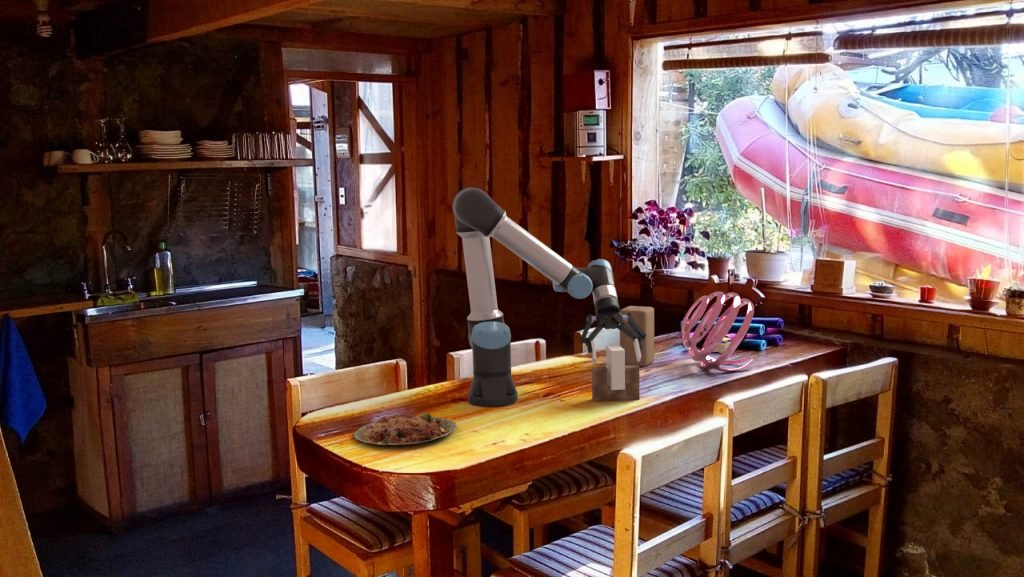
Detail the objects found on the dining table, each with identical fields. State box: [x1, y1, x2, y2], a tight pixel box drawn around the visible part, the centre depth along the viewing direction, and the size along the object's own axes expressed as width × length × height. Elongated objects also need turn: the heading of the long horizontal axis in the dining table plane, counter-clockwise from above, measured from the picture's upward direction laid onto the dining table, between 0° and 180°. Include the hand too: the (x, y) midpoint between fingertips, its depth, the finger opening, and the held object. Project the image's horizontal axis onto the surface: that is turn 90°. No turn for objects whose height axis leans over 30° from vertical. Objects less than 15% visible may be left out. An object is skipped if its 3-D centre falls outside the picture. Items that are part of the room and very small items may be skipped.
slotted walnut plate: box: [591, 365, 641, 403], centre depth 267 cm, size 14×3×10 cm, turn 96°
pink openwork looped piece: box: [681, 291, 755, 373], centre depth 302 cm, size 28×28×27 cm
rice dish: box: [352, 411, 458, 446], centre depth 238 cm, size 28×28×5 cm
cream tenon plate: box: [605, 344, 626, 390], centre depth 266 cm, size 4×8×12 cm, turn 6°
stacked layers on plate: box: [712, 336, 732, 354], centre depth 329 cm, size 10×9×6 cm
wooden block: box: [619, 305, 655, 367], centre depth 313 cm, size 10×10×20 cm
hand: (617, 360), depth 263 cm, fingers open, 13 cm apart
